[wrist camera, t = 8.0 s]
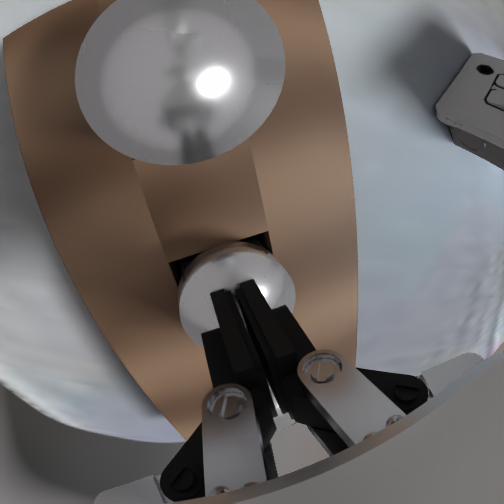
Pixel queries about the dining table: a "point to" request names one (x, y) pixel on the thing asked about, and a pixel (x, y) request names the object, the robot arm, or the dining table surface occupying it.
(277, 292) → the knob mid
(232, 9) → the knob near
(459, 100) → the electrical switch
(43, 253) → the dining table surface
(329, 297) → the knob mount
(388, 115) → the dining table surface
